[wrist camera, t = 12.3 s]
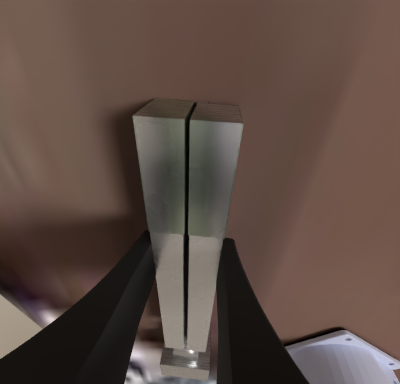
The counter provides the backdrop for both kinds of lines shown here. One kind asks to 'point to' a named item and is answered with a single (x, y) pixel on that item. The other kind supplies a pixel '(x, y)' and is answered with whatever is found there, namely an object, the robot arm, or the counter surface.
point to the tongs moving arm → (208, 211)
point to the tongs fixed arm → (169, 221)
